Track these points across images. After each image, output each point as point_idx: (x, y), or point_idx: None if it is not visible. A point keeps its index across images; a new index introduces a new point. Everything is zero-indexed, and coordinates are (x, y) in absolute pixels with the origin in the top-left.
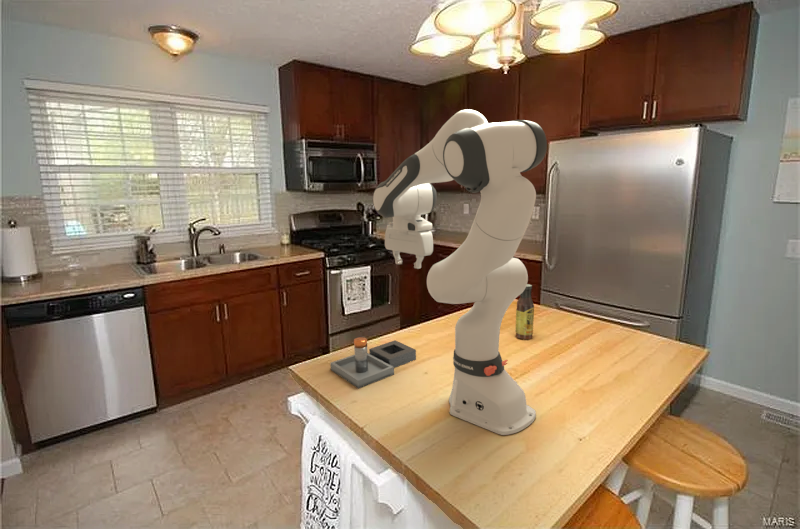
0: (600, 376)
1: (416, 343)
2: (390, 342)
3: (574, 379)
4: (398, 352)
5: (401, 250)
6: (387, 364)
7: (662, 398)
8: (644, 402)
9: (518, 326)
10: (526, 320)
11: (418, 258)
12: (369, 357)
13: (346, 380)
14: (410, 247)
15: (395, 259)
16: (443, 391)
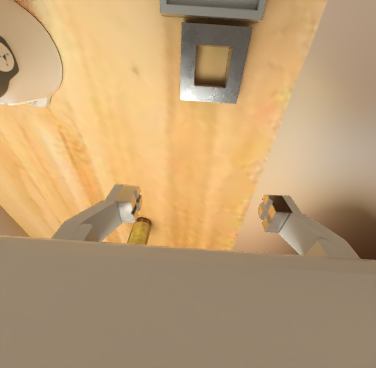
0: (40, 196)
1: (221, 140)
2: (236, 89)
3: (42, 179)
4: (193, 65)
5: (235, 261)
6: (177, 10)
7: None
8: None
9: (140, 228)
10: (130, 236)
11: (67, 221)
12: (235, 9)
13: None
14: (85, 300)
15: (298, 210)
16: (69, 40)
